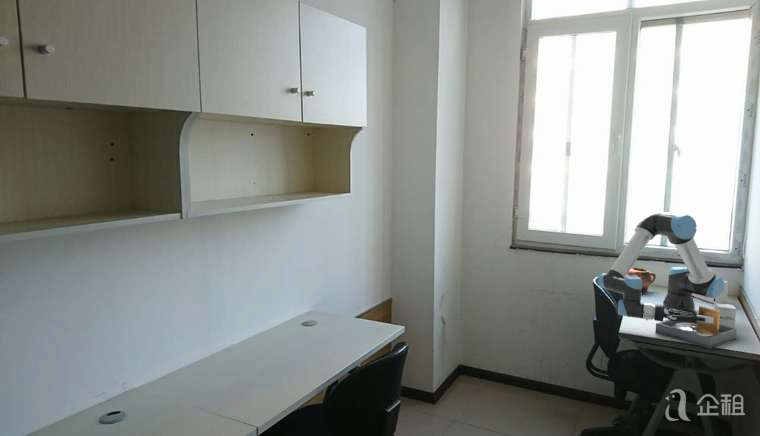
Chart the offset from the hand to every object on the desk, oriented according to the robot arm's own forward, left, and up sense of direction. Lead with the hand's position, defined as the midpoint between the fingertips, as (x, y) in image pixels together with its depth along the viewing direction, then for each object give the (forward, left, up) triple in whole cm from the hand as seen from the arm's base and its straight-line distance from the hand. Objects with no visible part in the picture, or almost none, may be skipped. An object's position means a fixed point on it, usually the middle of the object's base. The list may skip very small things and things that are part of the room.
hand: (713, 320), depth 230 cm
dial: (-2, -7, -8) cm, 11 cm away
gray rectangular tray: (-2, -8, -10) cm, 13 cm away
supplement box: (-20, -4, -10) cm, 23 cm away
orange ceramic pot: (-53, -65, -10) cm, 84 cm away
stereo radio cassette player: (-70, -35, -10) cm, 79 cm away
